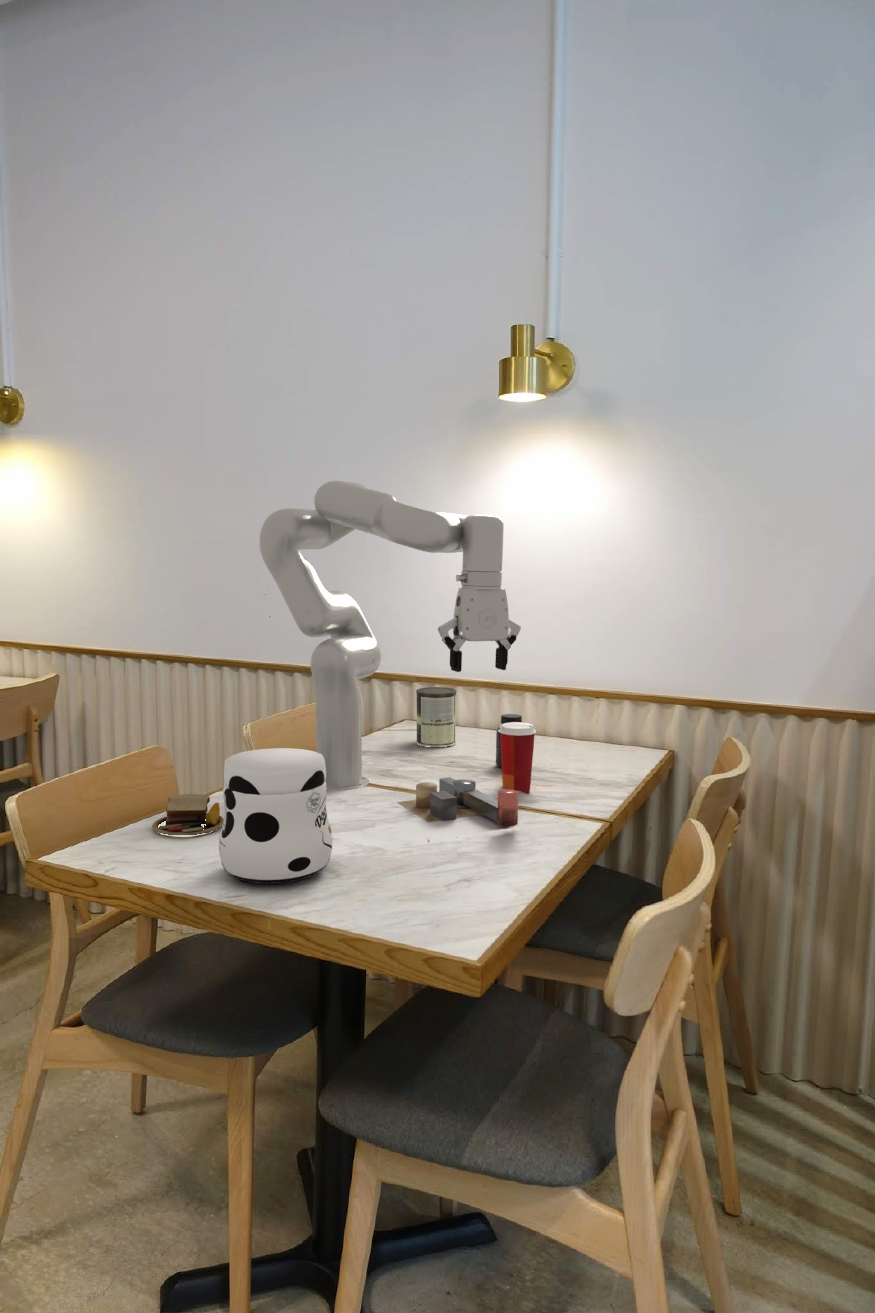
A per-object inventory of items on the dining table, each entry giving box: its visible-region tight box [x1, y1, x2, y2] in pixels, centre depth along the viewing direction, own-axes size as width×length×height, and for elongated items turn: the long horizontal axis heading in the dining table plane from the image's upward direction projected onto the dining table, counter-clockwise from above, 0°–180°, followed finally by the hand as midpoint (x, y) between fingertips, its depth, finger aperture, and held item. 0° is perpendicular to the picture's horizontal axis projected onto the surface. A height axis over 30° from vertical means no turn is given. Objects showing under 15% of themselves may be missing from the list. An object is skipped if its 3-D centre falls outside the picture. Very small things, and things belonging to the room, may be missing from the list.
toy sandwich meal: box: [151, 793, 224, 835], centre depth 162 cm, size 12×14×5 cm
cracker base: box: [396, 790, 483, 823], centre depth 171 cm, size 16×14×5 cm
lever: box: [438, 776, 519, 827], centre depth 168 cm, size 26×4×6 cm, turn 27°
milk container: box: [218, 747, 333, 884], centre depth 139 cm, size 17×17×18 cm
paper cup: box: [498, 722, 537, 795], centre depth 186 cm, size 8×8×14 cm
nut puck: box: [415, 782, 438, 809], centre depth 172 cm, size 4×4×4 cm
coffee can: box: [415, 686, 457, 748], centre depth 231 cm, size 10×10×14 cm
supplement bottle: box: [495, 713, 523, 769], centre depth 207 cm, size 7×7×12 cm
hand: (478, 670), depth 172 cm, fingers open, 9 cm apart
